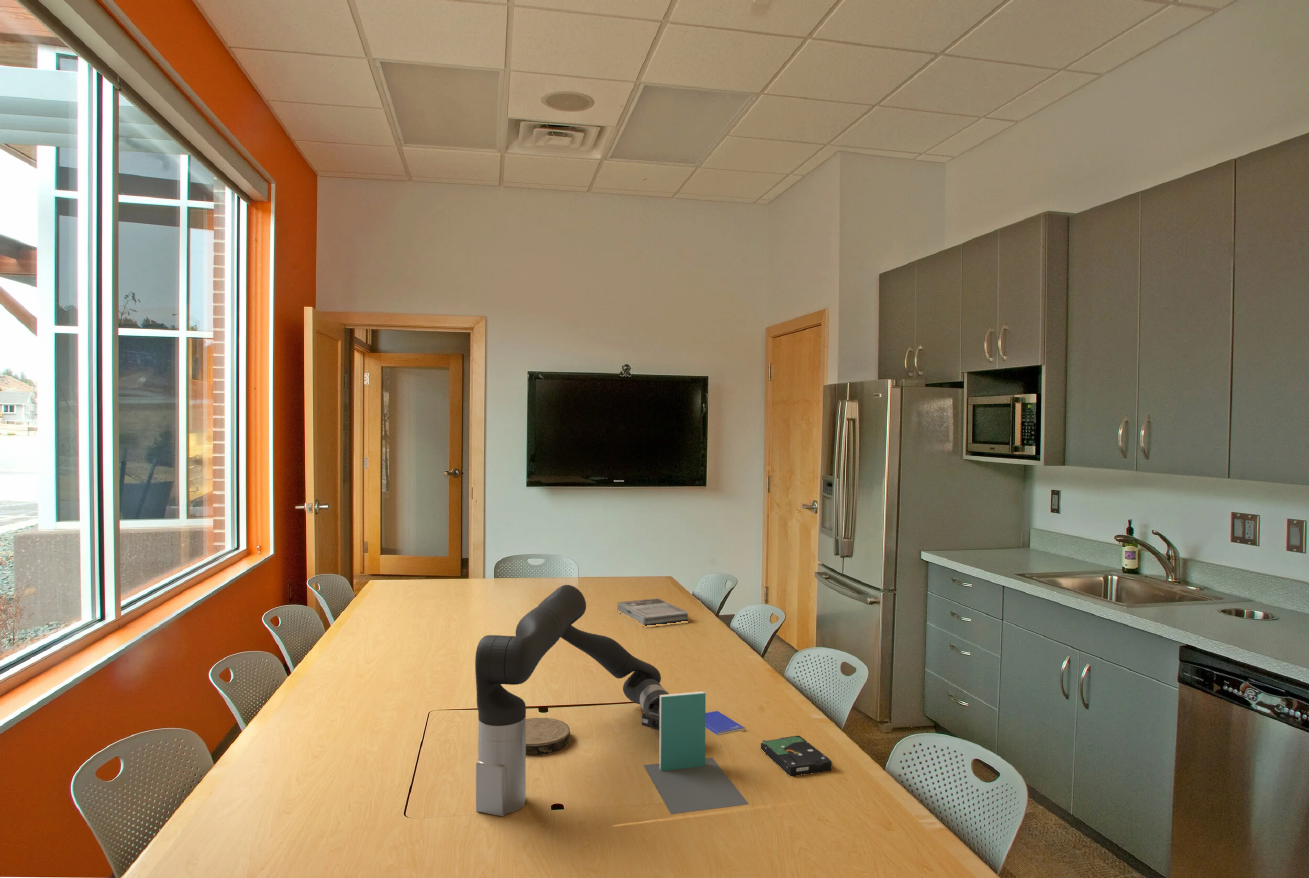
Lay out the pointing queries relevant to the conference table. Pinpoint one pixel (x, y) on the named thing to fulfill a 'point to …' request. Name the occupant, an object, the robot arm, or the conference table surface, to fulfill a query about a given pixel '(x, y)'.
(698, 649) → the conference table surface
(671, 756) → the tile
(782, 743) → the disk drive
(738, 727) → the hard drive
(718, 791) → the mat
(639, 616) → the hard drive
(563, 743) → the brown round disc
